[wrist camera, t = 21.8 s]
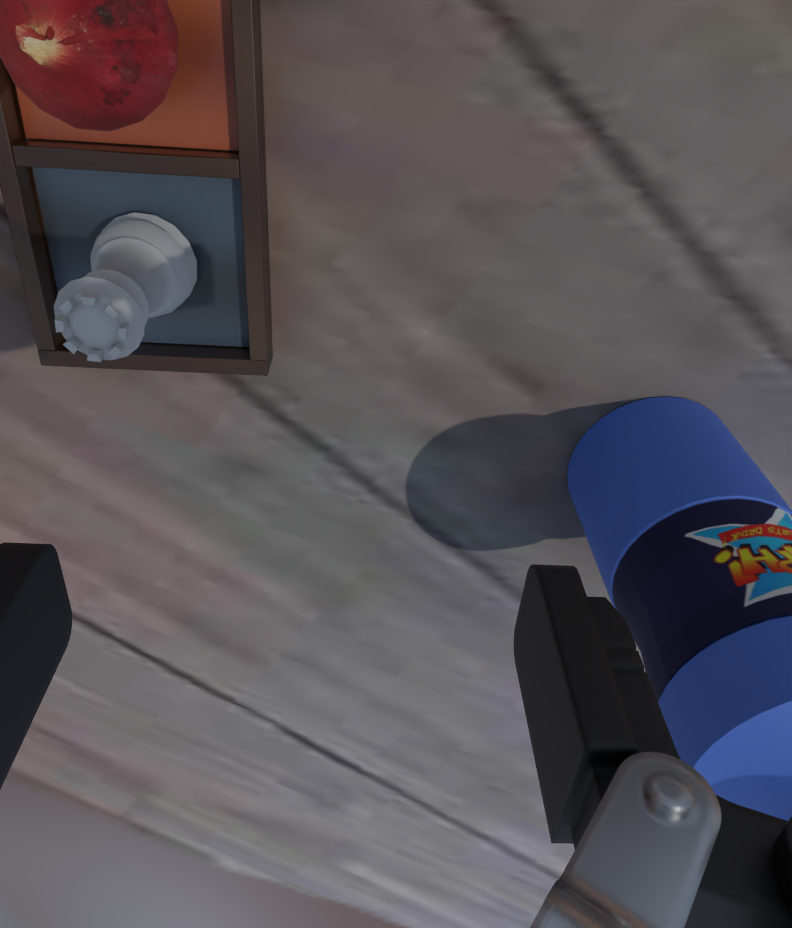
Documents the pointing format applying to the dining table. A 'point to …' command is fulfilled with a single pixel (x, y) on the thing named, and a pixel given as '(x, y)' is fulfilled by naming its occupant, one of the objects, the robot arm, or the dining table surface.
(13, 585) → the robot arm
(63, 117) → the pomegranate
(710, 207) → the dining table surface
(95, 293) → the rook chess piece
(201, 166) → the tray
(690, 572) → the water bottle
